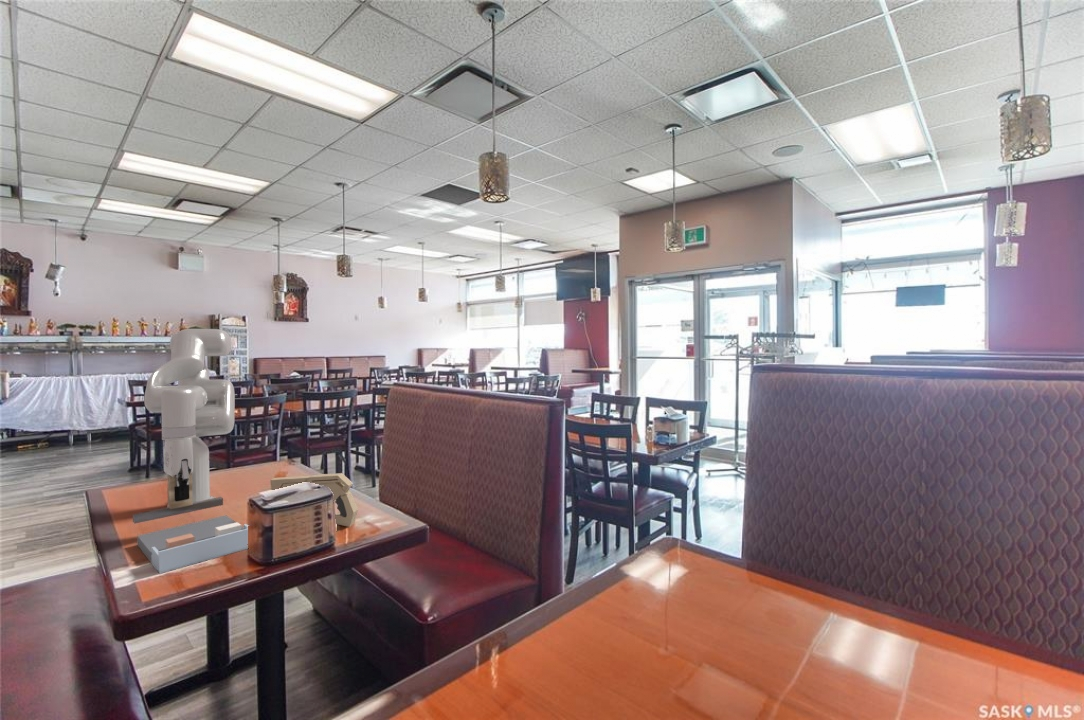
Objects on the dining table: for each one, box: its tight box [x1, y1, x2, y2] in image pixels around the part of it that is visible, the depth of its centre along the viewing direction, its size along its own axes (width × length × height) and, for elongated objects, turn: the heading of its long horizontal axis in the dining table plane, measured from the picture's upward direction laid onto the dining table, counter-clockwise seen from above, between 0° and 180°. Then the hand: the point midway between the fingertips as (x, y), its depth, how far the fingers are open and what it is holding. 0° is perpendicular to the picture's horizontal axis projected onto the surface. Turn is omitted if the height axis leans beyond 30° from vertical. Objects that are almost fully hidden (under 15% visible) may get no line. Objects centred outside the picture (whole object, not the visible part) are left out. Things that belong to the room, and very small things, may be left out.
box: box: [150, 523, 249, 574], centre depth 120 cm, size 8×20×5 cm, turn 139°
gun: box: [269, 472, 359, 528], centre depth 141 cm, size 24×3×15 cm, turn 84°
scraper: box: [132, 472, 224, 525], centre depth 134 cm, size 3×20×11 cm, turn 139°
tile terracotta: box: [166, 534, 194, 549], centre depth 116 cm, size 5×5×3 cm
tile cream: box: [215, 521, 242, 537], centre depth 124 cm, size 5×5×3 cm
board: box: [136, 514, 244, 563], centre depth 128 cm, size 15×20×2 cm
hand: (180, 498), depth 134 cm, fingers closed on scraper, 3 cm apart
